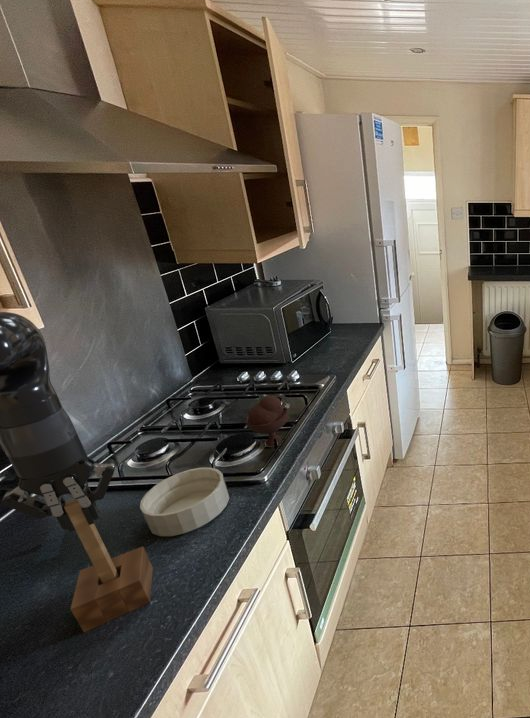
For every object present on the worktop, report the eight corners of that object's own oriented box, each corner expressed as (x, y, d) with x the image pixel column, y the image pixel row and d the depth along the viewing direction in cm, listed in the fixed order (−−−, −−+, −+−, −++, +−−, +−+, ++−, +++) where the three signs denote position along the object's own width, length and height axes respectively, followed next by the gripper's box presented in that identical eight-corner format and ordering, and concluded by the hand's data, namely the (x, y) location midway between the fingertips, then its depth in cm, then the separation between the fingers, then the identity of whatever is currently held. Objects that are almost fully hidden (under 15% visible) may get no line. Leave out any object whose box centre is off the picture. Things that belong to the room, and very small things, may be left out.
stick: (107, 592, 75) (63, 507, 68) (108, 584, 77) (65, 500, 69) (120, 586, 76) (78, 502, 69) (121, 579, 78) (80, 496, 70)
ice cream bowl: (278, 427, 128) (268, 385, 123) (302, 438, 123) (292, 394, 118) (244, 446, 120) (231, 401, 114) (268, 458, 115) (256, 412, 109)
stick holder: (83, 632, 72) (70, 609, 70) (92, 592, 79) (79, 570, 76) (150, 602, 77) (139, 580, 75) (153, 567, 84) (143, 545, 81)
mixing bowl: (147, 550, 87) (137, 527, 85) (151, 506, 99) (142, 484, 96) (232, 517, 96) (225, 495, 93) (227, 479, 107) (220, 459, 105)
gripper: (104, 414, 71) (137, 494, 77) (-17, 443, 63) (31, 529, 70) (98, 436, 65) (134, 519, 72) (-36, 470, 58) (18, 560, 64)
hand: (83, 524), depth 71 cm, fingers closed on stick, 2 cm apart
